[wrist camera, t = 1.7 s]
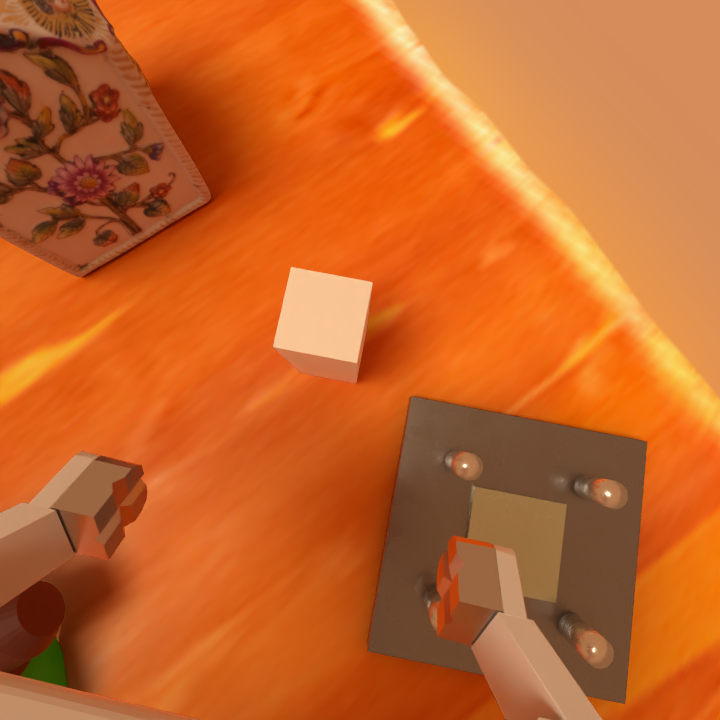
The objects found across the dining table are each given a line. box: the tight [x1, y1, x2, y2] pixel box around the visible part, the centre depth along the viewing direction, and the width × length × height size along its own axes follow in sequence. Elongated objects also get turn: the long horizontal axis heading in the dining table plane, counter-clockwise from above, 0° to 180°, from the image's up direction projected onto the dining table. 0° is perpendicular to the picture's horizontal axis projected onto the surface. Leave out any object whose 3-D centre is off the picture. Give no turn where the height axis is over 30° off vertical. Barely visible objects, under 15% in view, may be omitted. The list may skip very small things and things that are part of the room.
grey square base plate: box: [367, 396, 647, 704], centre depth 26 cm, size 16×16×4 cm
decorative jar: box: [0, 0, 211, 277], centre depth 23 cm, size 12×12×18 cm
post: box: [273, 267, 373, 384], centre depth 25 cm, size 4×4×10 cm
